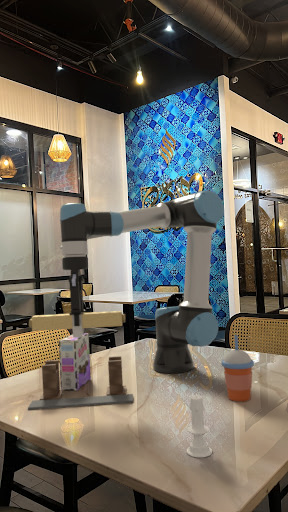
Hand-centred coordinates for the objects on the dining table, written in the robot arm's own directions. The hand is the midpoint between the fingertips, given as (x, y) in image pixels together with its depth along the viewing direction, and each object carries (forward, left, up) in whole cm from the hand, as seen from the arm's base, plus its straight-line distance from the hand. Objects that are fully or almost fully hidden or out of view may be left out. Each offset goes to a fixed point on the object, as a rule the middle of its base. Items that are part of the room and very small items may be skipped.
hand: (78, 335), depth 122 cm
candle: (-28, +36, -20) cm, 50 cm away
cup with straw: (-45, +5, -20) cm, 50 cm away
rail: (0, 0, +2) cm, 2 cm away
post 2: (-10, -8, -20) cm, 23 cm away
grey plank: (0, 0, -20) cm, 20 cm away
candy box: (+4, -19, -20) cm, 28 cm away
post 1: (+10, -8, -20) cm, 23 cm away
